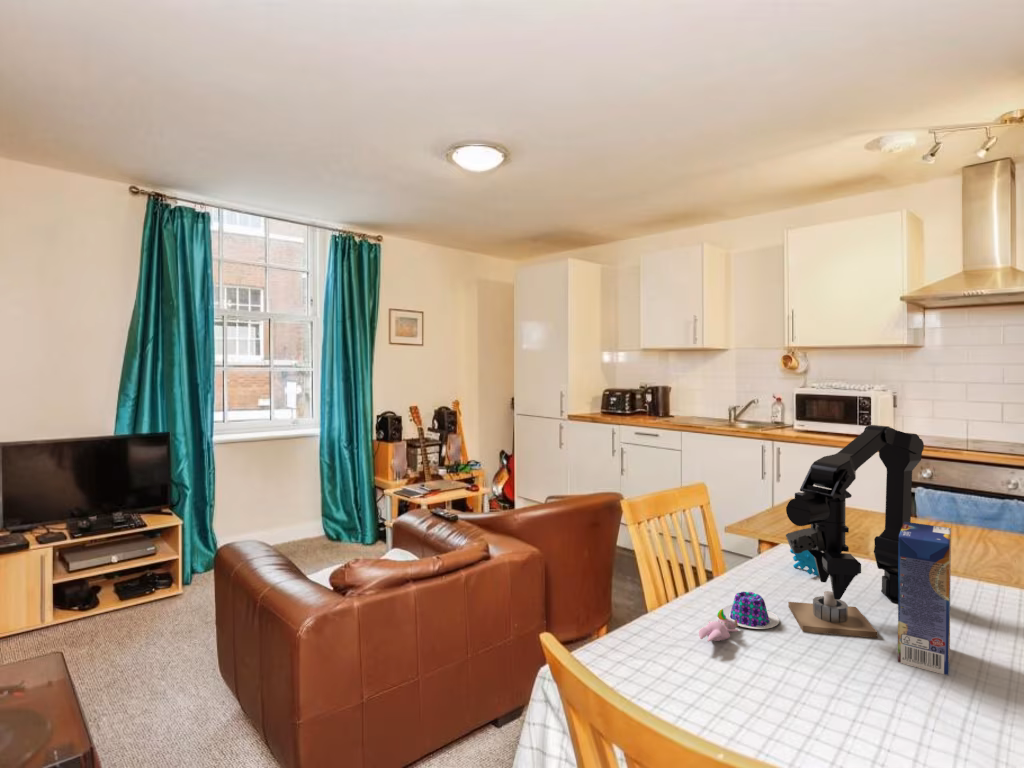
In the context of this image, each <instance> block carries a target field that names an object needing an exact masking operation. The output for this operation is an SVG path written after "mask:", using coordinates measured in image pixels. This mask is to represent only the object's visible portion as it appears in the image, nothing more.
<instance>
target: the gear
mask: <svg viewBox="0 0 1024 768" xmlns="http://www.w3.org/2000/svg"><path fill="white" fill-rule="evenodd" d="M789 552H790V553H791V554H793V556H792V558H793V561H794V562H795V563H794V564H793V565H792V566H793V568H794V569H797V568H798V567H799V568H800V569H801V570H803V569H805V568H806V567H807V568H808V569H806V573H807V574H809V575H810V576H811V575H814V576H817V577H819V574H818V570H817V566H816V562H815V559H814V556H813V555H812V554H811V553H810V552H809V551H808V550H806V551H803V552H802V553H794V552H793V550H792V549H791V548H790V549H789Z"/></svg>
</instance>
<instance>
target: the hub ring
mask: <svg viewBox="0 0 1024 768" xmlns="http://www.w3.org/2000/svg"><path fill="white" fill-rule="evenodd" d="M812 604H813V614H814V616H815V617H817V618H819V619H821V620H824V621H827V622H832V623H843V622H846V621H847V619H848V604H847V602H845V601H844V600H842V599H839V600H838V599H837V607H830V606H826V605H824V595H821V596H820V595H819V596H816V597H815V596H814V598H812Z"/></svg>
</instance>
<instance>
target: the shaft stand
mask: <svg viewBox="0 0 1024 768" xmlns="http://www.w3.org/2000/svg"><path fill="white" fill-rule="evenodd" d="M823 596H824V605H826V606H830V607H837V599H834V596H833V591H832V590H831V591H830V590H827V591H826V590H825V591H823ZM787 607H788V608H789V610H790V612H791V614H792V615H793V618H794V619H795V621H796V622H797V624H798V626H799V627H800V629H801V632H805V633H806V632H807V633H815V634H817V633H818V634H827V635H839V636H840V635H841V636H853V637H863V638H874V639H878V631H877V630H876V628H874V626H873V625H872V624H871V623H870V622H869V620H868V619H867V618H866V617H865V616H864V615H863V613H862V612H861V611H860V610H859V609H858V607H856V606H851V605H850V606H848V619H847V621H846V622H843V623H832V622H827V621H824V620H821V619H819V618H817V617H815V616H814V614H813V603H811V602H808V603H807V602H798V601H796V602H795V601H788V605H787Z"/></svg>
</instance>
